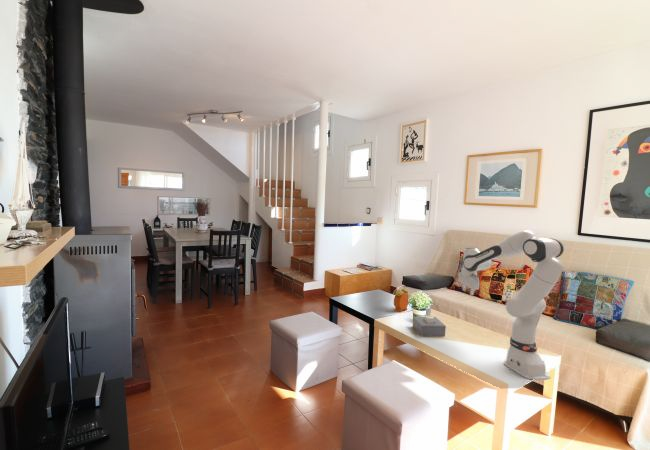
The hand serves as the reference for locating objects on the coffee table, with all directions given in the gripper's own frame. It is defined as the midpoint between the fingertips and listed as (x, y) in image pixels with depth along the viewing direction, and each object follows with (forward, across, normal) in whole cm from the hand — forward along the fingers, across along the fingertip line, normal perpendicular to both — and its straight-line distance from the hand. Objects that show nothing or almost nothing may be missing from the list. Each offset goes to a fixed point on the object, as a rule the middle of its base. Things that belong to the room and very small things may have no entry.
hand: (467, 292), depth 214 cm
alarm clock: (+29, +48, +28) cm, 63 cm away
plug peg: (+29, +7, +22) cm, 37 cm away
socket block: (+29, +7, +22) cm, 37 cm away
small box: (+29, +26, +18) cm, 43 cm away
